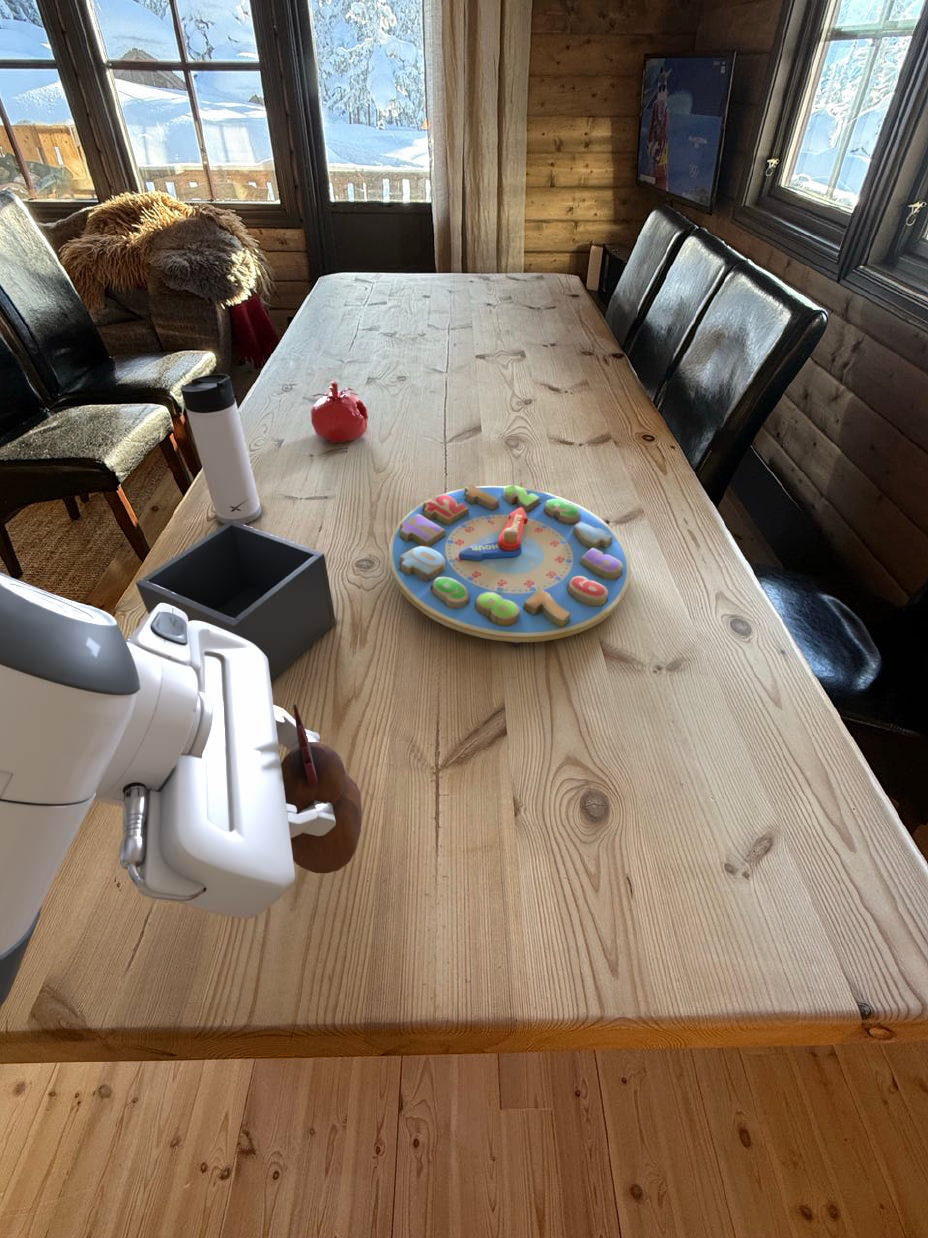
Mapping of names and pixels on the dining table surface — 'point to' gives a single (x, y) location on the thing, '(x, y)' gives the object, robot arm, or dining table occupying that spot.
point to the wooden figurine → (323, 778)
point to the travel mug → (222, 447)
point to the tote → (249, 590)
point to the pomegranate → (339, 416)
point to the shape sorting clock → (509, 563)
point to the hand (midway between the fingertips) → (322, 782)
